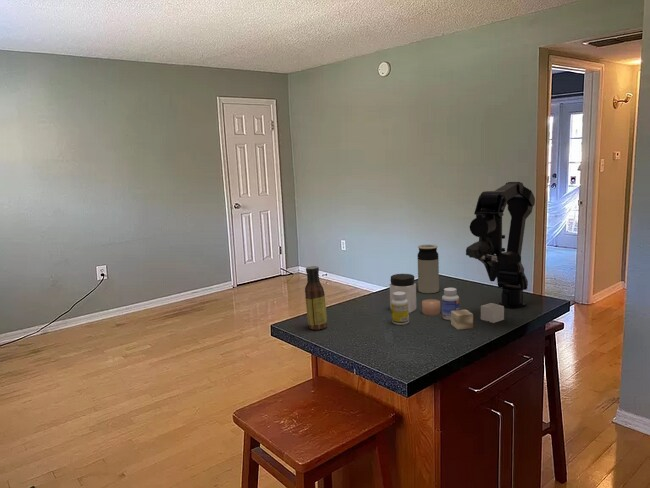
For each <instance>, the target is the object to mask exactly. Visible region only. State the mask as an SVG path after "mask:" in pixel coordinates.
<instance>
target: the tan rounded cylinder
mask: <svg viewBox="0 0 650 488" xmlns="http://www.w3.org/2000/svg"><path fill="white" fill-rule="evenodd" d="M421 307H422V308H421V310H422V311H421V313H422V314H423V315H424V316H431V317H433V316H438V315H440V314H441V301H440V300H439V299H435V298H430V299H429V298H426V299H423V300H422V301H421Z"/></svg>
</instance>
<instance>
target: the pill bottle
mask: <svg viewBox="0 0 650 488" xmlns="http://www.w3.org/2000/svg"><path fill="white" fill-rule="evenodd" d="M457 292H458V291H457V288H455V287H446V288H443V293H444V294H443V295H442V296H441V305H442V306H441V307H442V310H441V311H442V312H441V313H442V319H443V320H446V321H451V311H455V310H460V297H459V295H458V294H457Z"/></svg>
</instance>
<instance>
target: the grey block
mask: <svg viewBox="0 0 650 488" xmlns="http://www.w3.org/2000/svg"><path fill="white" fill-rule="evenodd" d="M480 320H482V321H485V322H488V321H489V322H488V323H492V324H495V323H497V322H500V321H503V320H505V306H504V305H501V304H498V303H497V304H496V303H494V302H493V303H492V302H490V303H487V304H483V305H480Z"/></svg>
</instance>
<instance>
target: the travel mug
mask: <svg viewBox="0 0 650 488" xmlns="http://www.w3.org/2000/svg"><path fill="white" fill-rule="evenodd" d="M417 248H418V253H417V283H418V284H417V287H418V289H417V290H418V292H419V293H422V294H427V295H428V294H430V295H431V294H436V293H438V292H439V291H440V277H439V276H440V274H439V273H440V272H439V271H440V270H439V269H440V266H439V264H440V263H439V262H440V261H439V258H440V257H439V252H438V245H436V244H422V245H421V244H420V245H418V246H417Z"/></svg>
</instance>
